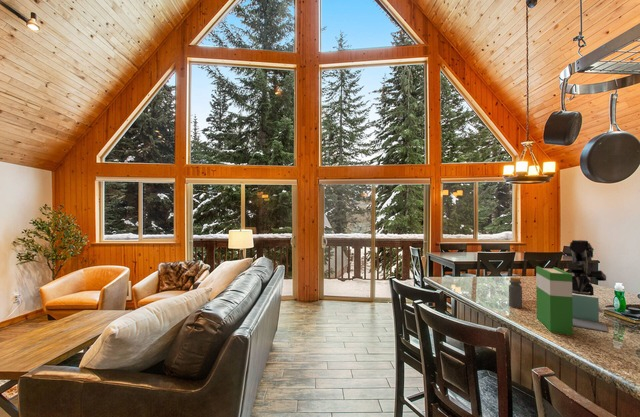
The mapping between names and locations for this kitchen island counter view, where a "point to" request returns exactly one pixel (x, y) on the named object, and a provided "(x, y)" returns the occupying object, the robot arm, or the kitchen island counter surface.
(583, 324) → the mat
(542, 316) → the hardback book
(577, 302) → the tile
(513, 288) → the bottle
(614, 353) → the kitchen island counter surface
